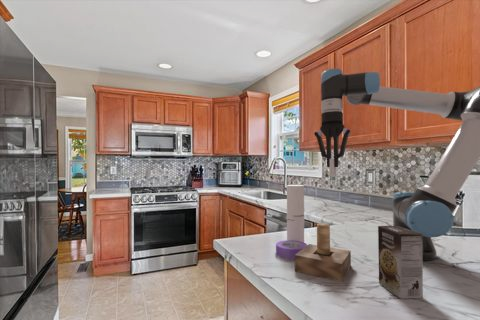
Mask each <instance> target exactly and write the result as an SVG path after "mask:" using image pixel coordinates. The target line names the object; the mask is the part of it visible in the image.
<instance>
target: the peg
mask: <svg viewBox="0 0 480 320" xmlns="http://www.w3.org/2000/svg"><path fill="white" fill-rule="evenodd" d="M330 226H331V225H330V224H329V223H317V224H316V245H317V255H323V256H328V257H330V248H331V227H330Z"/></svg>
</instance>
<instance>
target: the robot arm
mask: <svg viewBox="0 0 480 320" xmlns="http://www.w3.org/2000/svg"><path fill="white" fill-rule="evenodd" d="M320 79H321V80H320V94H321V95H320V96H321V97H320V100H321V101H320V103H321V105H320V106H321V109H320V111H321V118H320V120H321V123H320V124H321V125H320V128H319V129H318V131H314V133H313V134H314V136H315V137H316V140H317V144H318V147H319V151H320V154H321V157H323V158H325V159H326V168H329V177H333V178H334V177H336V175H337V174H336V172H337V171H336V170H337V169H336V168H339V159H340V158H343V157H344V155H345V151H346V148H347V143H348V139H349V136H350V135H351V133H352V130H350V129H348V128H346V127H345V124H344V112H343V111H344V102H343V101H344V99H343V97H346V100H347V103H348V104H350V105H352V106H357V105H359V106H360V105H369V106H375V107H383V108H388V109H389V108H390V109H399V110H405V111H413V112H419V113H420V112H421V113H426V114H433V115H440V117H441V118H443V119H448V120H449V119H450V120H456V121H462V123H461V124H460V126H459V128H458V130H457V131H456V132H455V134H454V136H453V137H452V140H451V141H450V143H449V144H448V146H447V148H446V149H445V151H444V153H443V154H442V156H441V157H440V159H439V161H437V162H438V163H437V164H436V166H435V168H434V169H433V171H432V172H431V174H430V175H429V177H428V179H427V180H426V183H425V184H424V185H422V186H418V187H416V189H415V190H414V191H411V192H410V191H408V192H407V191H405V192H401V191H399V192H398V191H397V192H395V193H393V195H392V199H391V200H392V213H393V214H392V222H393V223H392V226H400V227H403V228H406V229H409V230H412V231H415V232H417V233H421V234H422V255H423V261H433V260H436V259H437V249H436V247H435V244H434V242H433V240H432V238H438V237H441V236H444V235H446V234H447V233H449V231H451V229H452V228H453V227H454V215H453V213H454V212H455V211H456V208H457V206H458V205H457V201H456V199H455V198H456V197H457V195H458V193H459V192H460V191H461V189H462V187H463V186H464V184H465V182H466V181H467V179H468V177H469V176H470V174H471V172H472V171H473V169H474V168H475V166H476V164H477V163H478V162H479V160H480V86H478V87H476V88H474V89H471V90H467V91H460V92H459V91H450V92H448V93H442V92H434V91H433V92H432V91H423V90H416V89H407V88H397V87H390V86H383V85H381V75H380V73H379V72H377V71H366V72H358V73H350V74H344V73H343V70H342V69H341V68H329V69H325V70H324V71H323V72H322V73H321V75H320ZM342 133H343V134H342ZM341 134H342V135H343V136H342V140H341V143H340V144H341V145H340V149H339V139H340V136H341ZM322 135H324V136H325V141H326V143H325V144H324V140H323V137H322ZM332 139H333V156H332ZM324 145H326V148H325V146H324Z"/></svg>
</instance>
